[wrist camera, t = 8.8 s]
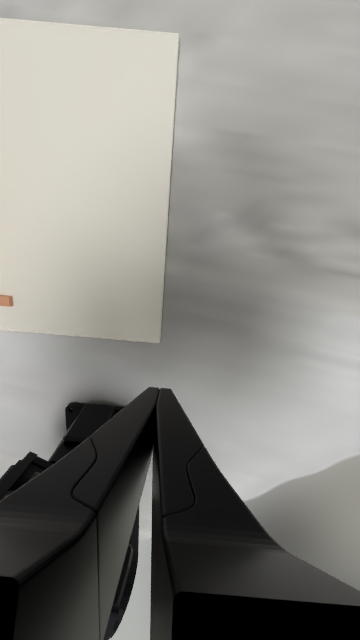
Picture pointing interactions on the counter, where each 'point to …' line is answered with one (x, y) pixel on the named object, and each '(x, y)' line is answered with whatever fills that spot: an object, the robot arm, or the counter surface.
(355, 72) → the counter surface
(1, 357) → the counter surface
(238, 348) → the counter surface
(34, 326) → the board
